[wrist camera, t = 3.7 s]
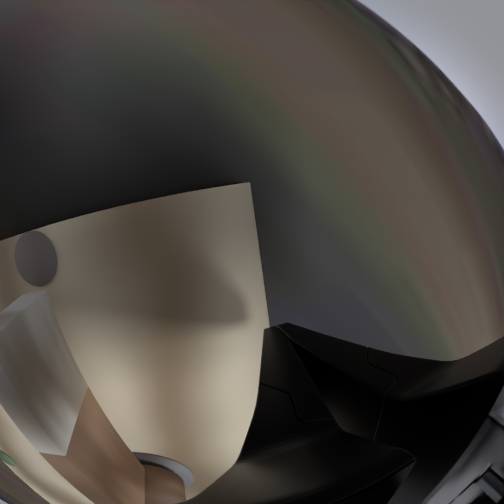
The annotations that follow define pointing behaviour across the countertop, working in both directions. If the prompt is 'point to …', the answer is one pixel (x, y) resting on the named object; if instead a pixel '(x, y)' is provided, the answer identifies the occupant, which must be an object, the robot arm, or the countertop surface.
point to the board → (151, 328)
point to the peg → (69, 412)
